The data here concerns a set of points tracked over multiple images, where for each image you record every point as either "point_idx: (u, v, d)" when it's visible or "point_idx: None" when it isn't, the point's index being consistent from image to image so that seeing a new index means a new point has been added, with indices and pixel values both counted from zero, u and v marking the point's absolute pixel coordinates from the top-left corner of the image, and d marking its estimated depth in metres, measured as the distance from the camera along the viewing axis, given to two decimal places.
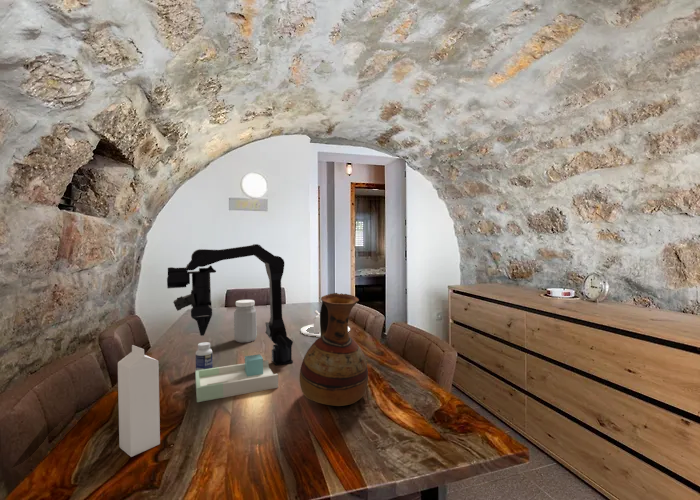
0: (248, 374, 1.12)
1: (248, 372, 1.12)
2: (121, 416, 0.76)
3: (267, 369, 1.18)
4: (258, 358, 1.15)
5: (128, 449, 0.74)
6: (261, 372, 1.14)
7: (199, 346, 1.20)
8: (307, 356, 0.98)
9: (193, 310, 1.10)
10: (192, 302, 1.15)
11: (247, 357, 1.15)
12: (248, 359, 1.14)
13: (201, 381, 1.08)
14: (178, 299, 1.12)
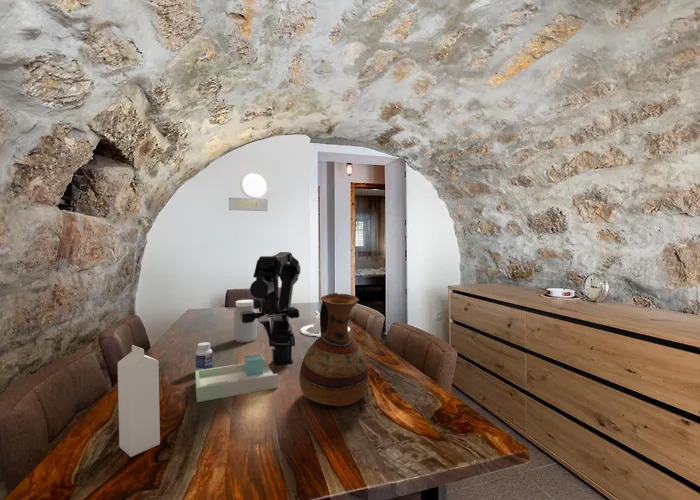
0: (248, 374, 1.12)
1: (248, 372, 1.12)
2: (121, 416, 0.76)
3: (267, 369, 1.18)
4: (258, 358, 1.15)
5: (128, 449, 0.74)
6: (261, 372, 1.14)
7: (199, 346, 1.20)
8: (307, 356, 0.98)
9: None
10: (259, 307, 1.19)
11: (247, 357, 1.15)
12: (248, 359, 1.14)
13: (201, 381, 1.08)
14: (253, 301, 1.22)
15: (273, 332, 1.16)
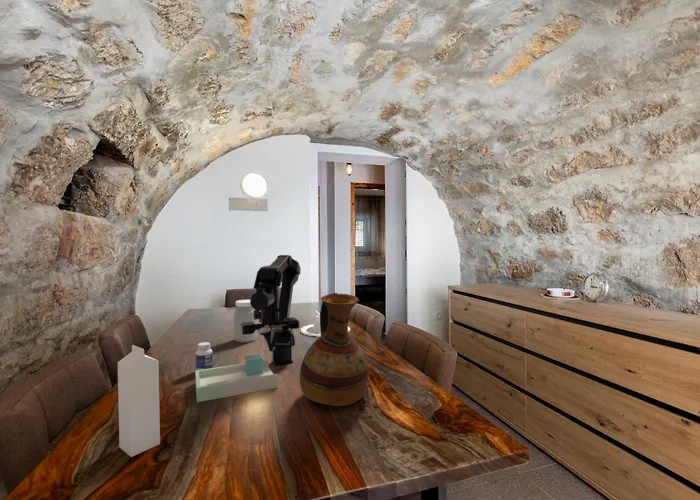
0: (248, 374, 1.12)
1: (248, 372, 1.12)
2: (121, 416, 0.76)
3: (267, 369, 1.18)
4: (258, 358, 1.15)
5: (128, 449, 0.74)
6: (261, 372, 1.14)
7: (199, 346, 1.20)
8: (307, 356, 0.98)
9: None
10: (259, 318, 1.19)
11: (247, 357, 1.15)
12: (248, 359, 1.14)
13: (201, 381, 1.08)
14: (253, 311, 1.22)
15: (273, 343, 1.17)
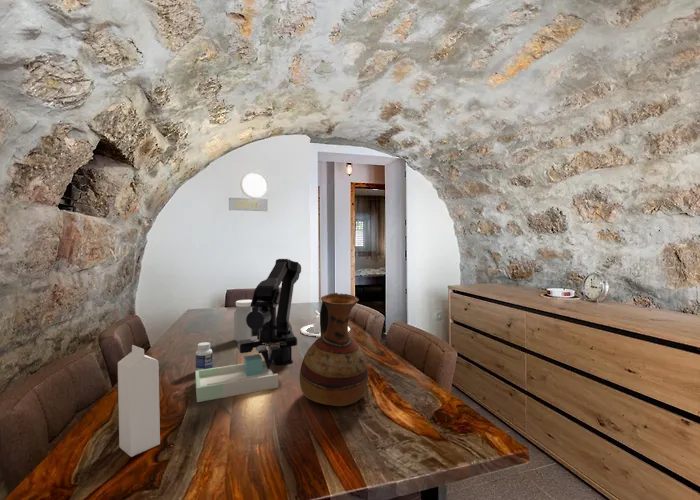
0: (247, 374, 1.12)
1: (247, 372, 1.12)
2: (121, 416, 0.76)
3: (267, 369, 1.18)
4: (257, 357, 1.15)
5: (128, 449, 0.74)
6: (260, 372, 1.14)
7: (199, 346, 1.20)
8: (307, 356, 0.98)
9: None
10: (257, 335, 1.18)
11: (246, 357, 1.15)
12: (247, 359, 1.14)
13: (201, 381, 1.08)
14: (251, 328, 1.21)
15: (271, 361, 1.16)
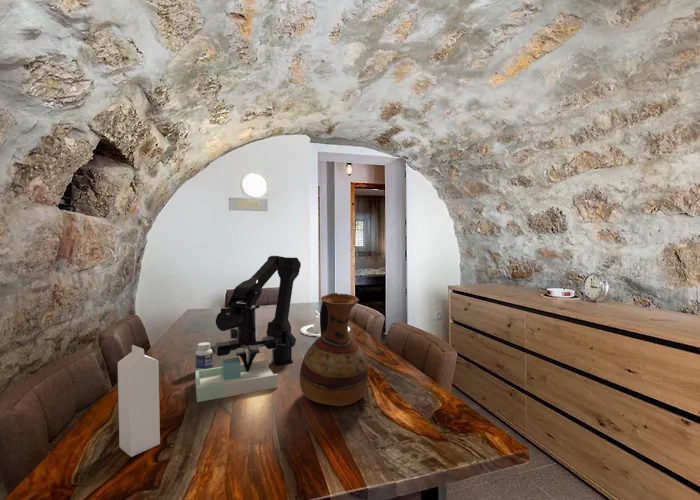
0: (225, 378, 1.09)
1: (225, 376, 1.09)
2: (121, 416, 0.76)
3: (267, 369, 1.18)
4: (235, 361, 1.12)
5: (128, 449, 0.74)
6: (238, 376, 1.11)
7: (199, 346, 1.20)
8: (307, 356, 0.98)
9: None
10: (236, 337, 1.15)
11: (224, 360, 1.12)
12: (225, 362, 1.11)
13: (201, 381, 1.08)
14: (230, 331, 1.18)
15: (250, 364, 1.13)
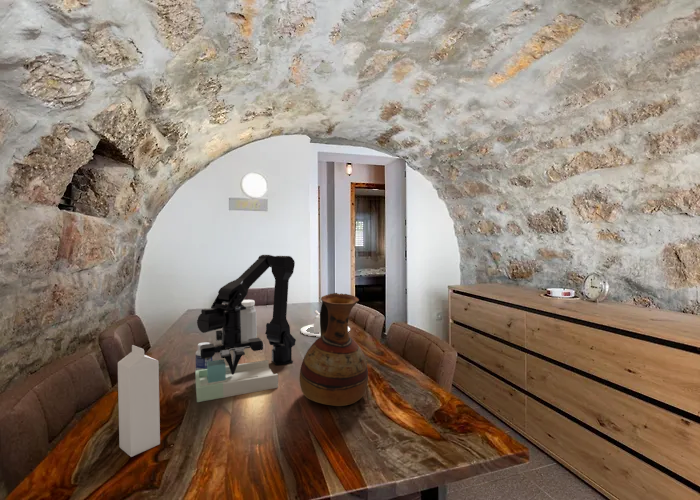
0: (209, 380, 1.07)
1: (209, 378, 1.07)
2: (121, 416, 0.76)
3: (267, 369, 1.18)
4: (220, 363, 1.10)
5: (128, 449, 0.74)
6: (223, 378, 1.09)
7: (199, 346, 1.20)
8: (307, 356, 0.98)
9: None
10: (221, 339, 1.14)
11: (209, 362, 1.10)
12: (209, 364, 1.09)
13: (201, 381, 1.08)
14: None
15: (235, 366, 1.11)
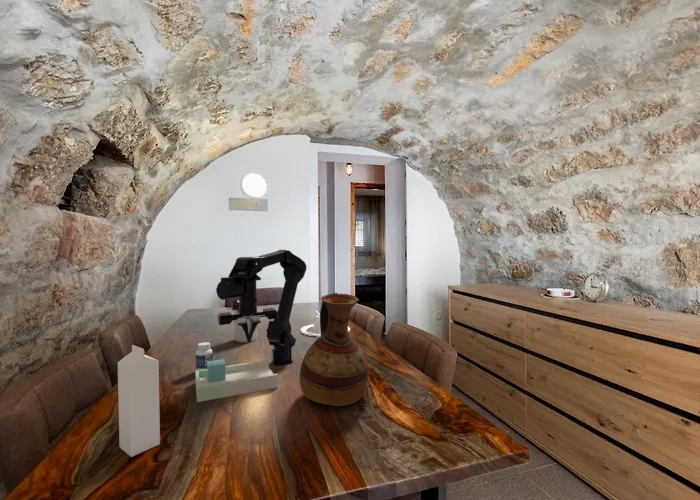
0: (209, 380, 1.07)
1: (209, 378, 1.07)
2: (121, 416, 0.76)
3: (267, 369, 1.18)
4: (220, 363, 1.10)
5: (128, 449, 0.74)
6: (223, 378, 1.09)
7: (199, 346, 1.20)
8: (307, 356, 0.98)
9: None
10: (237, 308, 1.18)
11: (209, 362, 1.10)
12: (209, 364, 1.09)
13: (201, 381, 1.08)
14: None
15: (251, 333, 1.16)
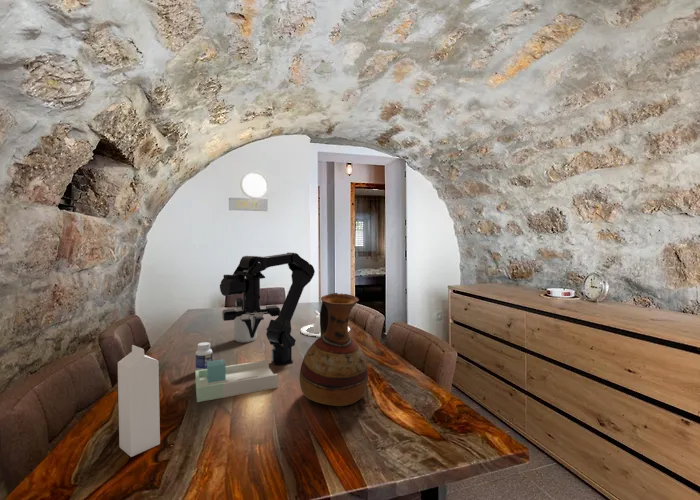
0: (209, 380, 1.07)
1: (209, 378, 1.07)
2: (121, 416, 0.76)
3: (267, 369, 1.18)
4: (220, 363, 1.10)
5: (128, 449, 0.74)
6: (223, 378, 1.09)
7: (199, 346, 1.20)
8: (307, 356, 0.98)
9: None
10: (241, 305, 1.22)
11: (209, 362, 1.10)
12: (209, 364, 1.09)
13: (201, 381, 1.08)
14: (236, 300, 1.25)
15: (254, 330, 1.20)
